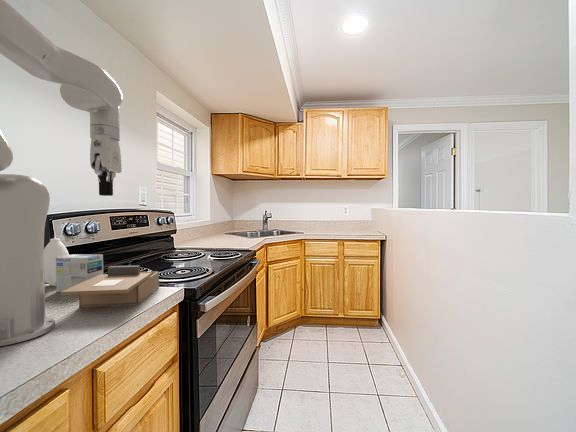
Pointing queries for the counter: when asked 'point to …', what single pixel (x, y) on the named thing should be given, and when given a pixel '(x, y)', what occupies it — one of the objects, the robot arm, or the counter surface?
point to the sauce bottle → (53, 258)
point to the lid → (110, 281)
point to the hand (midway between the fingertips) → (106, 195)
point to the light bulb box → (76, 269)
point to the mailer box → (122, 295)
